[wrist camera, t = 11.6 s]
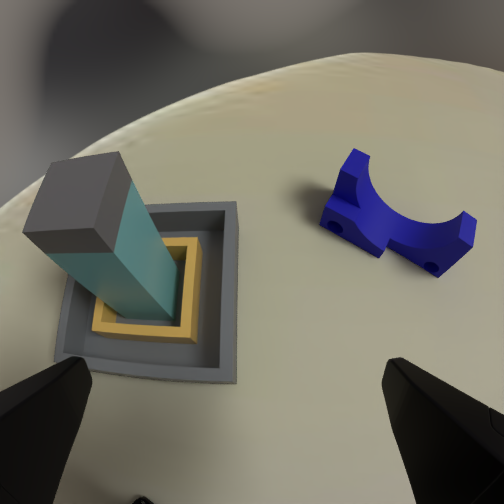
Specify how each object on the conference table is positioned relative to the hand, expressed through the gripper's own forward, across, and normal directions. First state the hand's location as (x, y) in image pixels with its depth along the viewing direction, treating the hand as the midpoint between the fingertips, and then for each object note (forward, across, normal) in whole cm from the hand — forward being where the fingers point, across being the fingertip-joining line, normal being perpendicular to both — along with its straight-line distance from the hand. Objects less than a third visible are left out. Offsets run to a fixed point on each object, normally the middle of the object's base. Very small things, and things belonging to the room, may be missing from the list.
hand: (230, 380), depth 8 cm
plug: (+14, +7, +4) cm, 16 cm away
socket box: (+15, +7, +5) cm, 17 cm away
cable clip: (+18, -12, +1) cm, 22 cm away
